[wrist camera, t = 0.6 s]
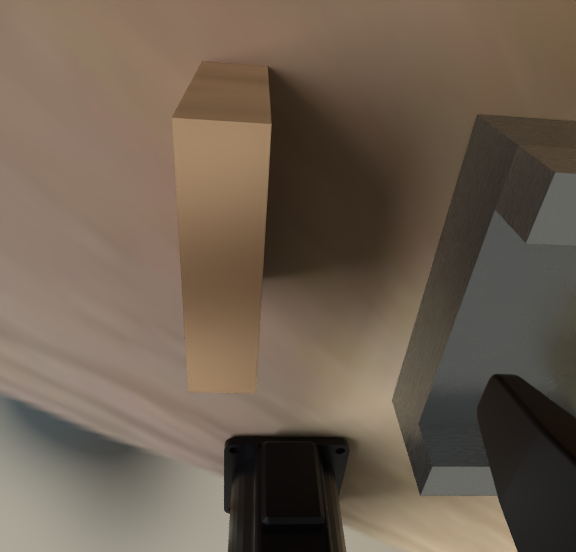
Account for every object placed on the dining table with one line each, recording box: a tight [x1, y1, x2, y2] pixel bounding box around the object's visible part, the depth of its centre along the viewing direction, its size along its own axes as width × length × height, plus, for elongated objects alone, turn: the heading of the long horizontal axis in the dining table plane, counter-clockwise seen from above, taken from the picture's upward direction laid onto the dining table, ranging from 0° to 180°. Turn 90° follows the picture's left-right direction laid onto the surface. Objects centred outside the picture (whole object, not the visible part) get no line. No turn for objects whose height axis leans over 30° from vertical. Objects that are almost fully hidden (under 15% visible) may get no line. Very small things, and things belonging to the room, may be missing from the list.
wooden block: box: [172, 62, 272, 393], centre depth 14 cm, size 8×2×6 cm, turn 176°
